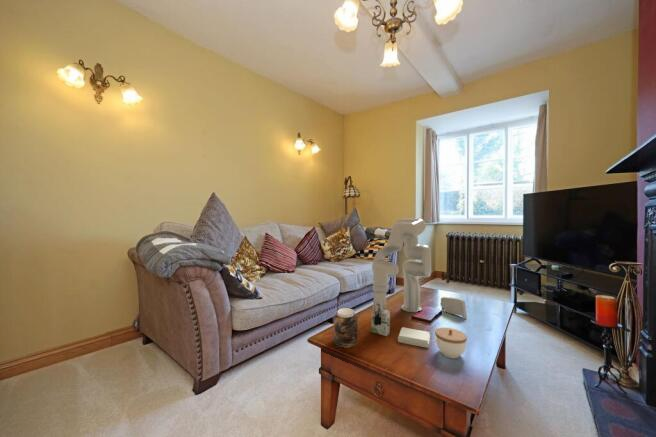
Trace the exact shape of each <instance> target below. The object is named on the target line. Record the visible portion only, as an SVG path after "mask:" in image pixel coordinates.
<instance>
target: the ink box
mask: <svg viewBox="0 0 656 437" xmlns="http://www.w3.org/2000/svg"><path fill="white" fill-rule="evenodd" d="M378 313H379V314H380V312H378ZM390 320H391V311H390V309H389V310H388V309H386V308H385V309H384V310H383V312H381V325H377V324H375V311H373V309H372V310H371V325H370V326H371V327H370V328H371V329H370V330H371V333H374V334H377V335H382V336H385V337H387V336H388V335H389V334H391V333H390V330H391V329H390V324H391V322H390Z"/></svg>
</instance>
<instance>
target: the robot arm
mask: <svg viewBox="0 0 656 437" xmlns="http://www.w3.org/2000/svg"><path fill="white" fill-rule="evenodd" d="M425 230H426V222H425V220H424V219H422V218H399V219H397V220H396V222H395V223H394V224H393V226H392V228H391V231H390V234H389V237H388V240H387V243H386V244H385V245H384V246H382V247H381V248H380V249H379V250H378V251H377V252H376V253H375V256H374V258H373V260H372V266H371V270H372V273H373V274H372V276H373V278H372V280H373V282H372V283H373V285H372V290H373V300H372V301H373V302H372V303H373V304H372V310H373V311H375V324H377V325H381V312H383V310H384V309H385V310H386V306H387V293H388V292H389V290H388V289H389V278H394V277H396V276H397V275H398V274H399V273H400V272H399V271H400V269H399V266H398V263H395V262H390V261H383V260H384V258H385V257H387V256H389V255H391V254H394V253H398V252H400V251H402V249H403V248H404V250H403V251H404V256H405V257H406V258H407V259H409V260H405V261H403V263H402V271H403V304H402V305H401V309H402V310H403V311H405V312H406V313H407V312H408V313H419V312H418V311H420V310H422V309H423V308H422V307H421V306H420V281H419V278H430V277H431V275H432V251H431V248H430V247H429V246H428V244H427V245H426V244H419V236H421V234H423V233H424V232H425ZM403 246H404V247H403ZM418 277H419V278H418ZM422 311H423V310H422ZM378 312H380V314H379V313H378ZM420 312H421V311H420Z"/></svg>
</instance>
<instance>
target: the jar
mask: <svg viewBox="0 0 656 437" xmlns="http://www.w3.org/2000/svg"><path fill="white" fill-rule="evenodd" d="M336 312H337V313H335V314H334V316H333V344H334V343H335V344H336V345H337V346H336V345H335V344H334V345H335V346H336V347H338V346H340V347H339V348H341V347H344V348H343V349H350V348H353V347H355V346H357V345H358V343H359V319H358V318H359V317H358V315H357V313H355V310H354V309H352V308H347V307H346V308H344V307H343V308H339V309H338V310H337V311H336Z"/></svg>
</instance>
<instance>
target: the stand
mask: <svg viewBox="0 0 656 437" xmlns="http://www.w3.org/2000/svg"><path fill="white" fill-rule="evenodd" d="M430 342H431V333H430V331H426V330H419V329H415V328H414V329H413V328H409V327H404V326H403V327H401V328H400V332H399V334H398V337H397V343H401V344H407V345H412V346H417V347H423V348H427V349H429V348H430Z"/></svg>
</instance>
